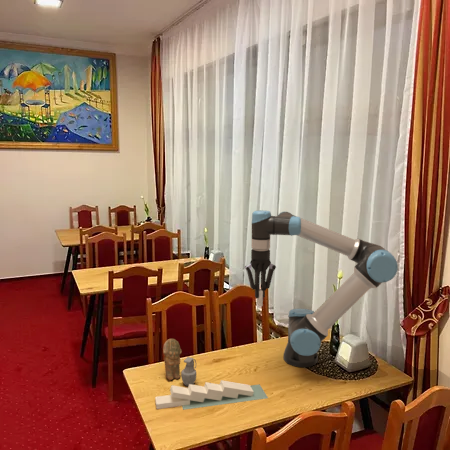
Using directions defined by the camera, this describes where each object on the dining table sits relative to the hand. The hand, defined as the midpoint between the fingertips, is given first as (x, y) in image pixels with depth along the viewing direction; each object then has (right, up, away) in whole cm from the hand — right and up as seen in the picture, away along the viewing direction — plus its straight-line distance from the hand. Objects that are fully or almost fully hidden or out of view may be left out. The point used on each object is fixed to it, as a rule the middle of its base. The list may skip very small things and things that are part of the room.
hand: (259, 305), depth 174 cm
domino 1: (-28, -31, -19) cm, 45 cm away
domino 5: (-4, -30, -13) cm, 33 cm away
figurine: (-35, -30, 0) cm, 46 cm away
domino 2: (-23, -30, -17) cm, 42 cm away
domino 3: (-16, -31, -16) cm, 38 cm away
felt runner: (-15, -32, -15) cm, 38 cm away
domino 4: (-10, -30, -14) cm, 35 cm away
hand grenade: (-28, -31, -6) cm, 42 cm away
